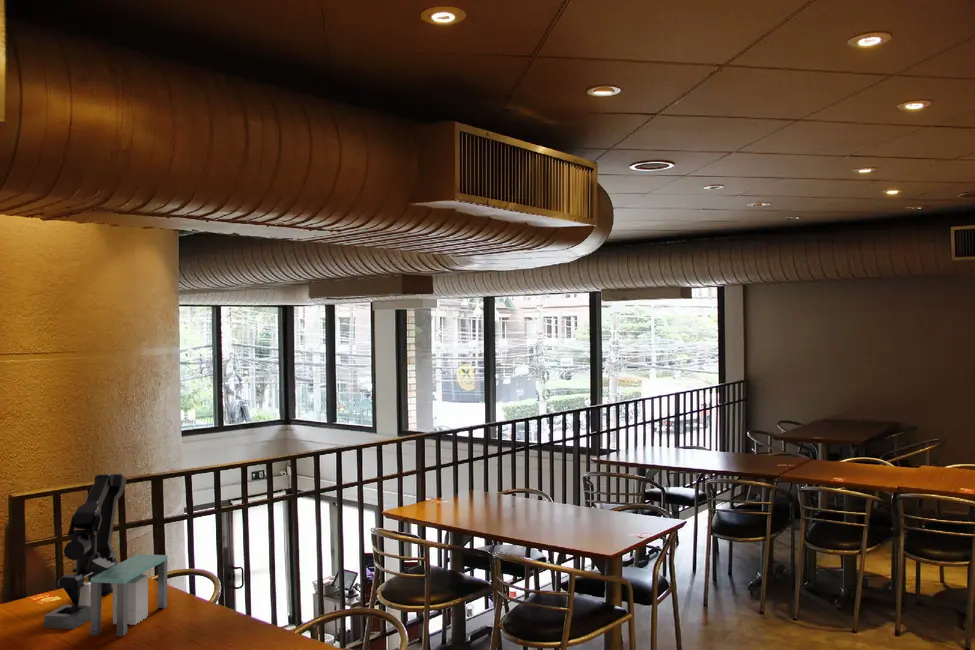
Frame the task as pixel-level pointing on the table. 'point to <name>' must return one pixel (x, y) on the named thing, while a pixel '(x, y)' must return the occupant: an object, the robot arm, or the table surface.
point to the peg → (85, 594)
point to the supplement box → (134, 600)
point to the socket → (67, 617)
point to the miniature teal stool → (126, 588)
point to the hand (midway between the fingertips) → (85, 601)
